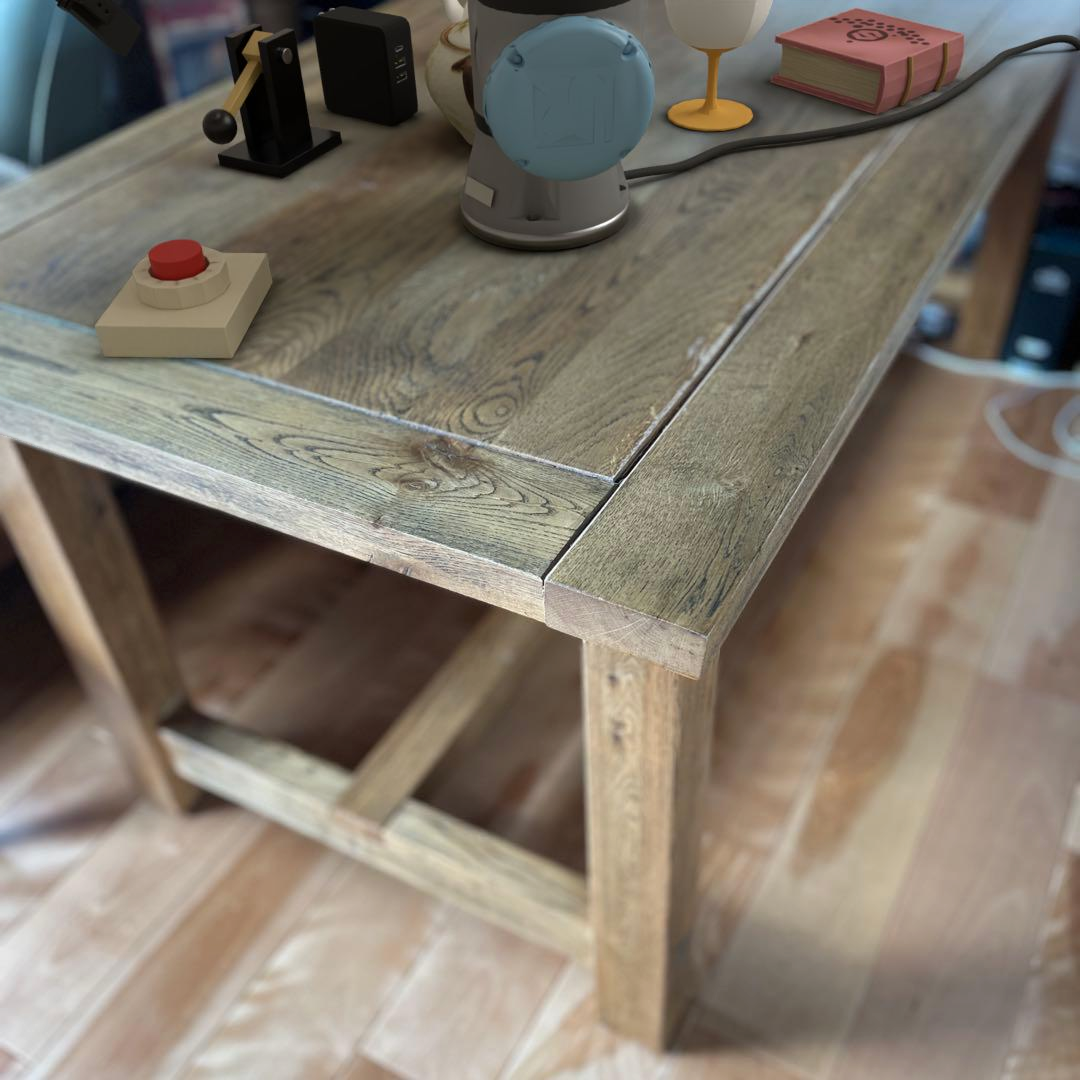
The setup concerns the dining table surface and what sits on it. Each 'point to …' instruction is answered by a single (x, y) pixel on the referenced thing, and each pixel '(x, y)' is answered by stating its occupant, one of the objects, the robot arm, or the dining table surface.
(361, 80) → the electronic device
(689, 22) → the cup
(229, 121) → the lever
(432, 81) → the sugar bowl
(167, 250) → the power button
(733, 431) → the dining table surface
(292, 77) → the lamp switch
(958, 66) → the book
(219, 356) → the power block
